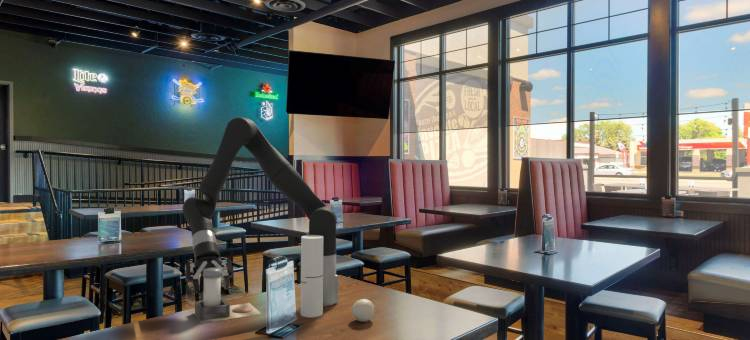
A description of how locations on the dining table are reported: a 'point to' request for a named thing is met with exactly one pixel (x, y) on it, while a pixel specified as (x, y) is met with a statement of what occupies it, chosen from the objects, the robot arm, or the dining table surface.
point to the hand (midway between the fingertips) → (212, 290)
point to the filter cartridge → (212, 287)
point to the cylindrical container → (311, 276)
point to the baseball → (362, 310)
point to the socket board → (223, 311)
